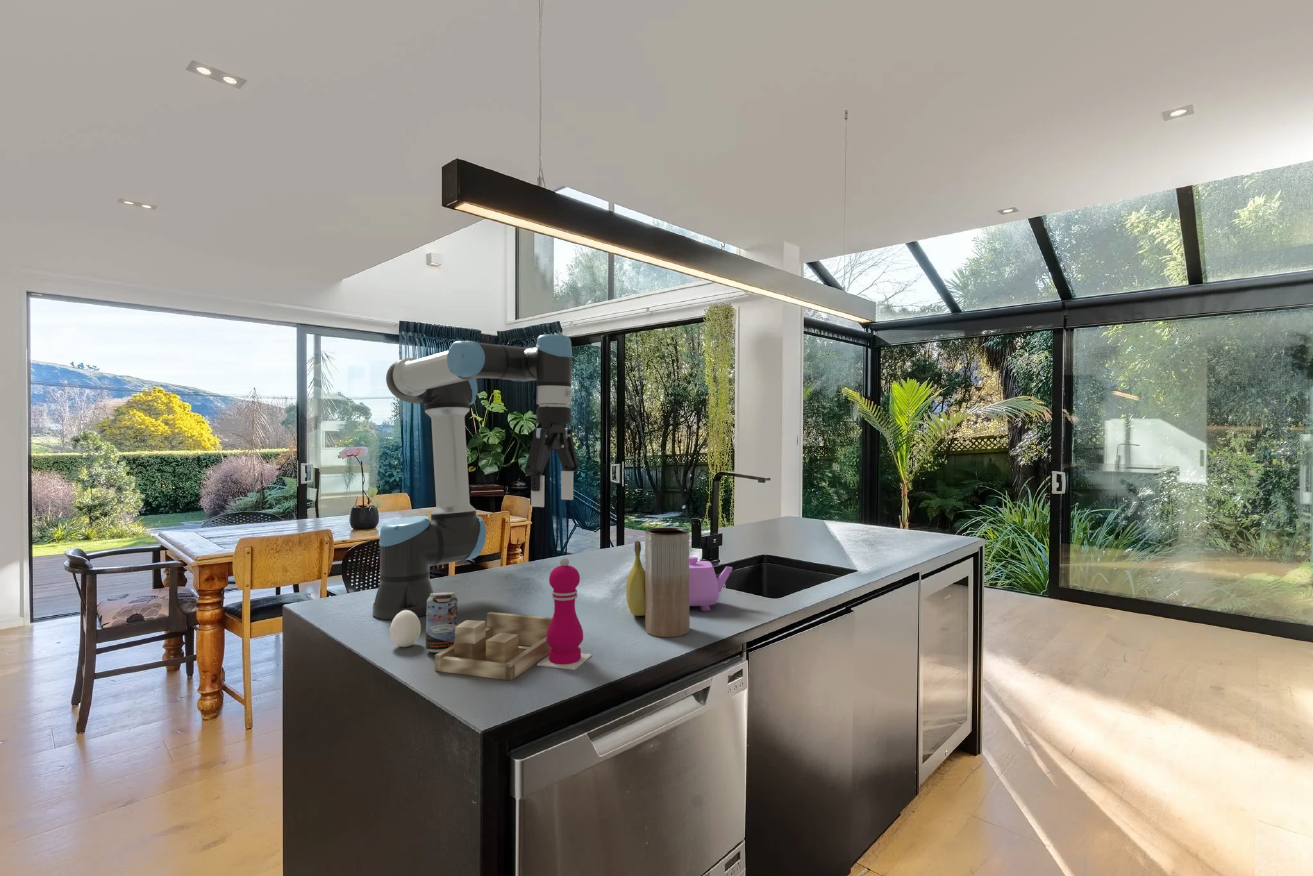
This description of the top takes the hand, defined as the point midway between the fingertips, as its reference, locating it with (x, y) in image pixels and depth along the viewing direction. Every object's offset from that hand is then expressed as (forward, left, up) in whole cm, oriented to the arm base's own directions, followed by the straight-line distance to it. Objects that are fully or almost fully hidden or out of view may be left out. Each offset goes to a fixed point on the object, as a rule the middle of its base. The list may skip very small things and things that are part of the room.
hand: (553, 503), depth 139 cm
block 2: (-8, -20, -30) cm, 36 cm away
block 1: (-8, -20, -25) cm, 32 cm away
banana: (+13, +21, -30) cm, 39 cm away
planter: (+23, +11, -30) cm, 39 cm away
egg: (-27, -15, -30) cm, 43 cm away
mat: (+9, -13, -30) cm, 33 cm away
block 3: (-1, -20, -30) cm, 36 cm away
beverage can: (-18, -15, -30) cm, 38 cm away
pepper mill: (+9, -12, -29) cm, 33 cm away
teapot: (+23, +33, -30) cm, 50 cm away
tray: (-4, -15, -30) cm, 33 cm away
